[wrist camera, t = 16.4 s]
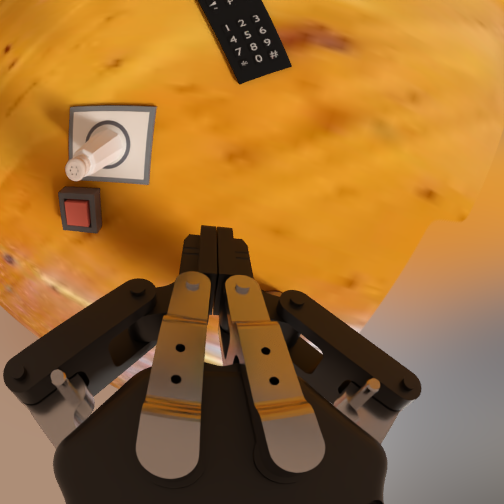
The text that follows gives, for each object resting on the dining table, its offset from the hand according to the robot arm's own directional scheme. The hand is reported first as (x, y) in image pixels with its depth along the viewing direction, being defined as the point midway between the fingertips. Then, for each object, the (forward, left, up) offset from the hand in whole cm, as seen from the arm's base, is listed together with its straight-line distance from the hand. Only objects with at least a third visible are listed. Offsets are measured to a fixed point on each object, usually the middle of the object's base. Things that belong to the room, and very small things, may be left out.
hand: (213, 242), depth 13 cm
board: (-3, +16, -28) cm, 33 cm away
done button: (-14, +21, -27) cm, 37 cm away
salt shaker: (-3, +16, -28) cm, 32 cm away
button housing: (-14, +21, -28) cm, 38 cm away
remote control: (+23, +4, -29) cm, 37 cm away
